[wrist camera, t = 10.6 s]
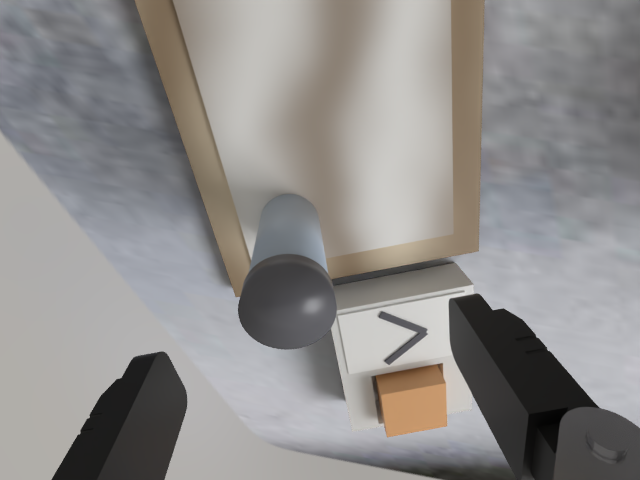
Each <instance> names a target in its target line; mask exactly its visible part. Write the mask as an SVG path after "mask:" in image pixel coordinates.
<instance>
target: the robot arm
mask: <svg viewBox="0 0 640 480" xmlns="http://www.w3.org/2000/svg"><path fill="white" fill-rule="evenodd" d="M449 336H450V346H451V351H452V354H453V357H454V360H455V362H456V364H457V366H458V368H459V370H460V372H461V374H462V376H463V378H464V379H465V381H466V383H467V385H468V387H469V389H470V391H471V393H472V395H473V397H474V399H475V401H476V402H477V404H478V406H479V408H480V410H481V412H482V414H483V416H484V418H485V420H486V422H487V423H488V425H489V427H490V429H491V431H492V433H493V435H494V437H495V439H496V441H497V443H498V444H499V446H500V448H501V450H502V452H503V454H504V456H505V458H506V460H507V462H508V464H509V466H510V467H511V469H512V471H513V473H514V475H515V477H516V479H517V480H640V428H639V427H638V426H636V425H635V424H633V423H632V422H631V421H629V420H627V419H626V418H624V417H622V416H620V415H618V414H616V413H613V412H611V411H608V410H605V409H601V408H599V407H598V406H597V405H596V404H595V403H594V402H593V400H592V399H591V398H590V397H589V396H588V395H587V394H586V392H585V391H584V390H583V389H582V388H581V387H580V385H579V384H578V383H577V382H576V381H575V380H574V379H573V377H572V376H571V375H570V374H569V373H568V372H567V370H566V369H565V368H564V367H563V366H562V365H561V364H560V362H559V361H558V360H557V359H556V358H555V357H554V355H553V354H552V353H551V352H550V351H548V350H547V347H546V346H545V345H544V344H543V343H542V342H541V340H540V339H539V338H536V335H535V334H534V332H533V331H532V330H531V329H530V328H529V327H528V325H527V324H526V323H525V322H524V321H523V320H522V319H520V318H519V317H517V316H515V315H514V314H512V313H510V312H509V311H507V310H505V309H498V310H492V309H491V308H490V306H489V305H488V304H487V302H486V301H485V300H484V299H483V297H482V296H481V295H480V294H471V295H466V296H461V297H455V298H450V299H449ZM186 409H187V394H186V390H185V387H184V385H183V383H182V381H181V379H180V378H179V376H178V374H177V372H176V370H175V368H174V366H173V364H172V362H171V360H170V358H169V356H168V355H167V354H166V353H165V352H157V353H151V354H146V355H141V356H136V357H134V358H133V359H132V360H131V362H130V364H129V365H128V368H127V369H126V371H125V373H124V375H123V376H122V378H120V379H117V380H116V381H115V382H114V383H113V384H112V385H111V386H110V387H109V388H108V389H107V390H106V391H105V392H104V393H103V394H102V395H101V397H100V398H99V400H98V401H97V403H96V405H95V407H94V408H93V410H92V412H91V414H90V418H89V419H87V420H86V422H85V424H84V425H83V427H82V429H81V434H80V435H78V436H77V438H76V439H75V441H74V442H73V444H72V446H71V448H70V449H69V451H68V453H67V454H66V456H65V458H64V459H63V461H62V463H61V465H60V466H59V468H58V470H57V471H56V473H55V475H54V476H53V478H52V480H164V479H165V476H166V473H167V469H168V466H169V463H170V460H171V457H172V454H173V451H174V447H175V444H176V441H177V438H178V435H179V431H180V429H181V425H182V422H183V419H184V416H185V413H186Z"/></svg>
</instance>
